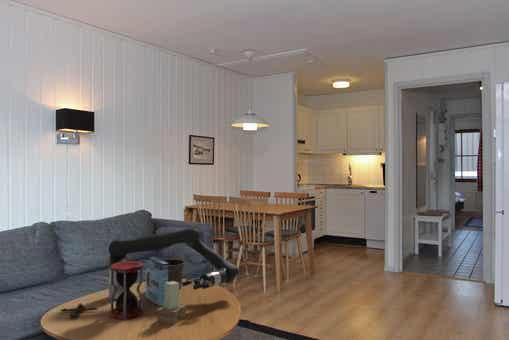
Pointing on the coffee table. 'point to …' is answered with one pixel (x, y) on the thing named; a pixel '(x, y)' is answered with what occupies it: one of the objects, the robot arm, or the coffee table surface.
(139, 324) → the coffee table surface
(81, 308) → the brown crossed bar shape
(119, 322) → the coffee table surface
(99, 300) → the coffee table surface
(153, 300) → the gum box
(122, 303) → the hourglass
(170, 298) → the sage block
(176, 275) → the plant pot
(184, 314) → the walnut base block
